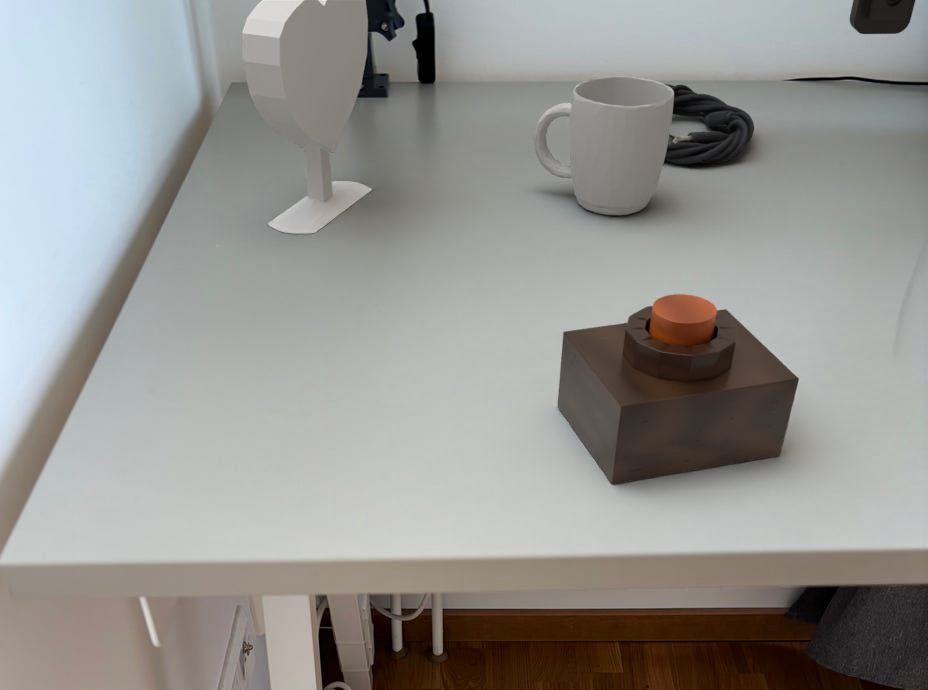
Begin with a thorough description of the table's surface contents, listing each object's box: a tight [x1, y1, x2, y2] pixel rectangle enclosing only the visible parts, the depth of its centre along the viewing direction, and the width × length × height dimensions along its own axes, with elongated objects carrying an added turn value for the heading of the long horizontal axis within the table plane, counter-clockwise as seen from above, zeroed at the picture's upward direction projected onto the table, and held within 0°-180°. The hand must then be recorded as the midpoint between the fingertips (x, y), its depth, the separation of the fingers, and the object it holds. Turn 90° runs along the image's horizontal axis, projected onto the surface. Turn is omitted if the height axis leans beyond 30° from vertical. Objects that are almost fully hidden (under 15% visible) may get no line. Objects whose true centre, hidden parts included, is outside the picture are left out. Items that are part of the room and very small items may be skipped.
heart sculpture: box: [241, 0, 373, 235], centre depth 97 cm, size 16×5×18 cm, turn 156°
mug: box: [533, 75, 674, 216], centre depth 101 cm, size 13×9×10 cm
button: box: [649, 293, 718, 346], centre depth 69 cm, size 4×4×2 cm
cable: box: [664, 83, 755, 165], centre depth 115 cm, size 17×14×4 cm
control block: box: [557, 305, 800, 485], centre depth 71 cm, size 12×10×8 cm
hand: (847, 5), depth 47 cm, fingers open, 8 cm apart
